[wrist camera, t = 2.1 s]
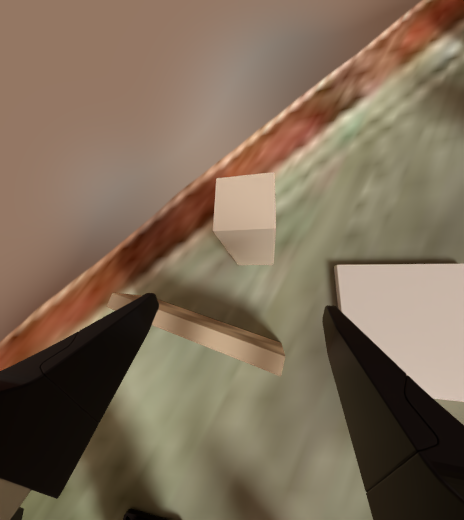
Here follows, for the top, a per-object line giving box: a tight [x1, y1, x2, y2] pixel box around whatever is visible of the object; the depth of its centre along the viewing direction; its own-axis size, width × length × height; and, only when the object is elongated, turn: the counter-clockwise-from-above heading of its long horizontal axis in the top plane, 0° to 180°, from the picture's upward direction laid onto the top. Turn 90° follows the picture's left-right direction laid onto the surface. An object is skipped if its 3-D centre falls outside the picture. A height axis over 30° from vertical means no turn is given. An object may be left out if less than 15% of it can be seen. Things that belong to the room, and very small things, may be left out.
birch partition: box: [107, 293, 285, 376], centre depth 20 cm, size 18×2×6 cm, turn 73°
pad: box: [334, 264, 464, 402], centre depth 18 cm, size 12×12×1 cm
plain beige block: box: [213, 172, 276, 265], centre depth 19 cm, size 4×5×11 cm
